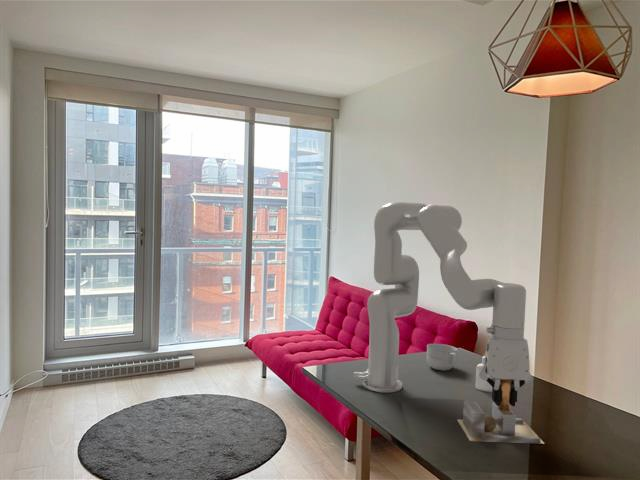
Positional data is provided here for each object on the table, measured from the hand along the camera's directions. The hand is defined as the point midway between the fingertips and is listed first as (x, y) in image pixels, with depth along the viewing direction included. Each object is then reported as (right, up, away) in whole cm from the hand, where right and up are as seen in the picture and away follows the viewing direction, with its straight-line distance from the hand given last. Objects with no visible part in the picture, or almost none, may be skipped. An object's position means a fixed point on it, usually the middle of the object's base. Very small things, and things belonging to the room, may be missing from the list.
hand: (504, 403), depth 122 cm
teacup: (-2, -6, +53) cm, 53 cm away
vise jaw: (0, -7, 0) cm, 7 cm away
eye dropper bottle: (+6, -7, +33) cm, 35 cm away
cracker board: (-1, -9, +1) cm, 9 cm away
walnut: (-4, -7, +1) cm, 8 cm away
